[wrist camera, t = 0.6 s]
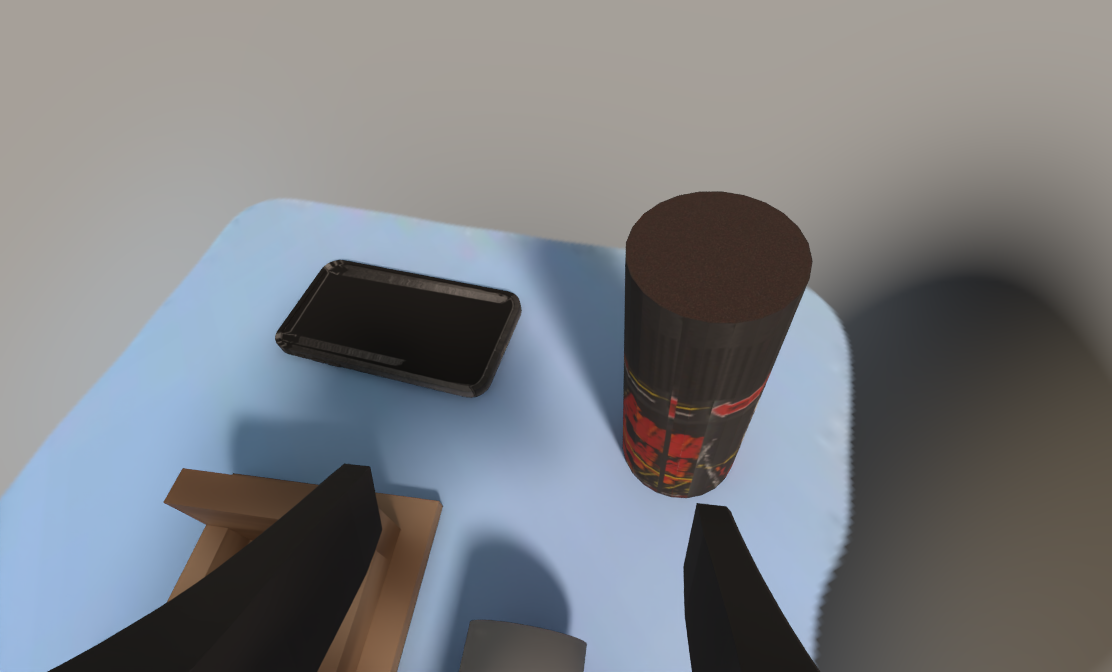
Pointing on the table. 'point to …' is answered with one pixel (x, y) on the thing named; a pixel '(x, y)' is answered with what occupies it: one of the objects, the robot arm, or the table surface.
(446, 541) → the table surface
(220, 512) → the cradle
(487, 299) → the phone
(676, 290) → the deodorant
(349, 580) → the robot arm
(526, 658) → the roll
